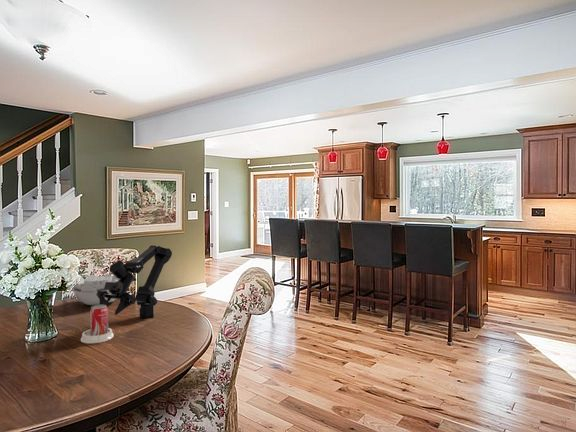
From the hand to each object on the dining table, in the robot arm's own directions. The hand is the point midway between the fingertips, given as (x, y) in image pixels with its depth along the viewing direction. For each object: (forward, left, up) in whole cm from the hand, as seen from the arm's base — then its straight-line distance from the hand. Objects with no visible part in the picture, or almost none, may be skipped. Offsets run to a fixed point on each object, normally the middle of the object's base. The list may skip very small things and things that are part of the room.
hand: (107, 313), depth 182 cm
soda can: (+3, +4, -9) cm, 10 cm away
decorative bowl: (+14, -58, -10) cm, 61 cm away
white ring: (+3, +5, -9) cm, 11 cm away
